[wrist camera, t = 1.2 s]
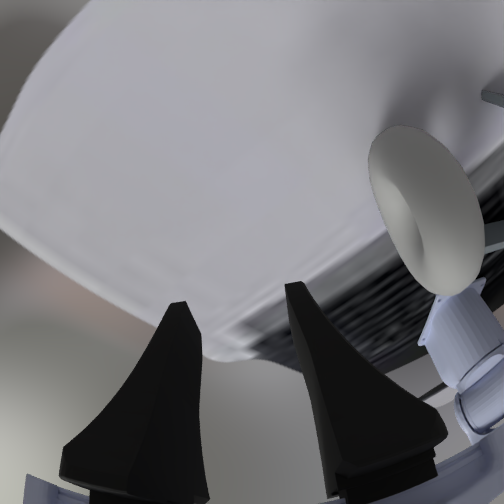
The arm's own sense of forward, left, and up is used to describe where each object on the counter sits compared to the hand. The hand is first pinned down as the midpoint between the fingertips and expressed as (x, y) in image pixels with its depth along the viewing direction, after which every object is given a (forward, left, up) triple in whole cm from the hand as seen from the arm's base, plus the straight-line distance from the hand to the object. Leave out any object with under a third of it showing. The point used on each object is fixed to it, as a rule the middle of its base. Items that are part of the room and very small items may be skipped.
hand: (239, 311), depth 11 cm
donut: (0, -11, -10) cm, 14 cm away
